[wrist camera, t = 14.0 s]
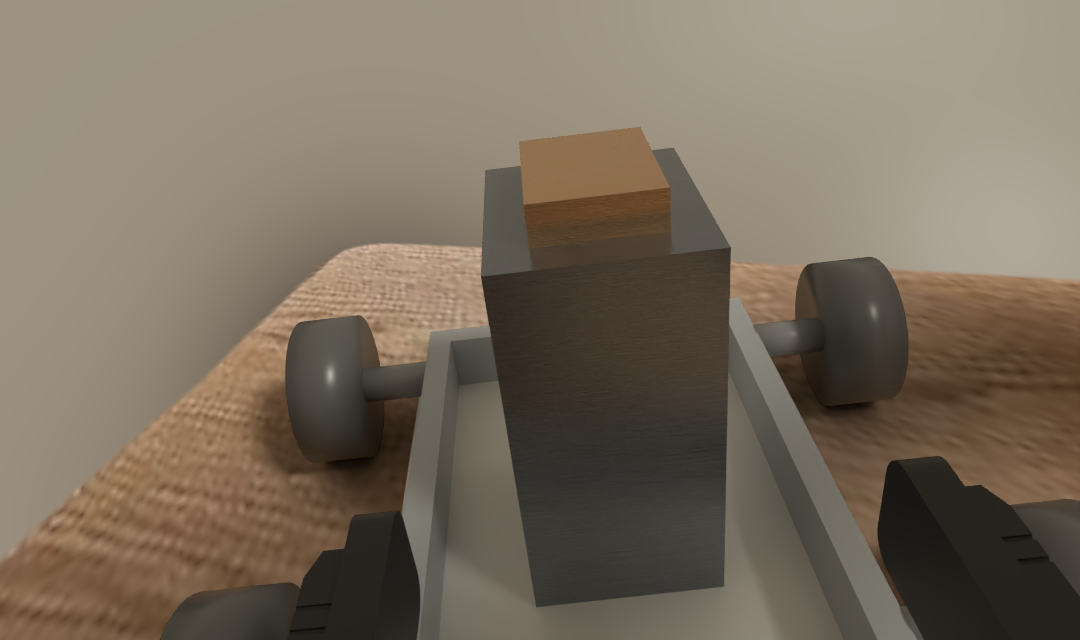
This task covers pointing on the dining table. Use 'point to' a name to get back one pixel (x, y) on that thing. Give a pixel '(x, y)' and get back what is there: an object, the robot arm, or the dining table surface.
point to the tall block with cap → (610, 364)
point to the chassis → (493, 508)
